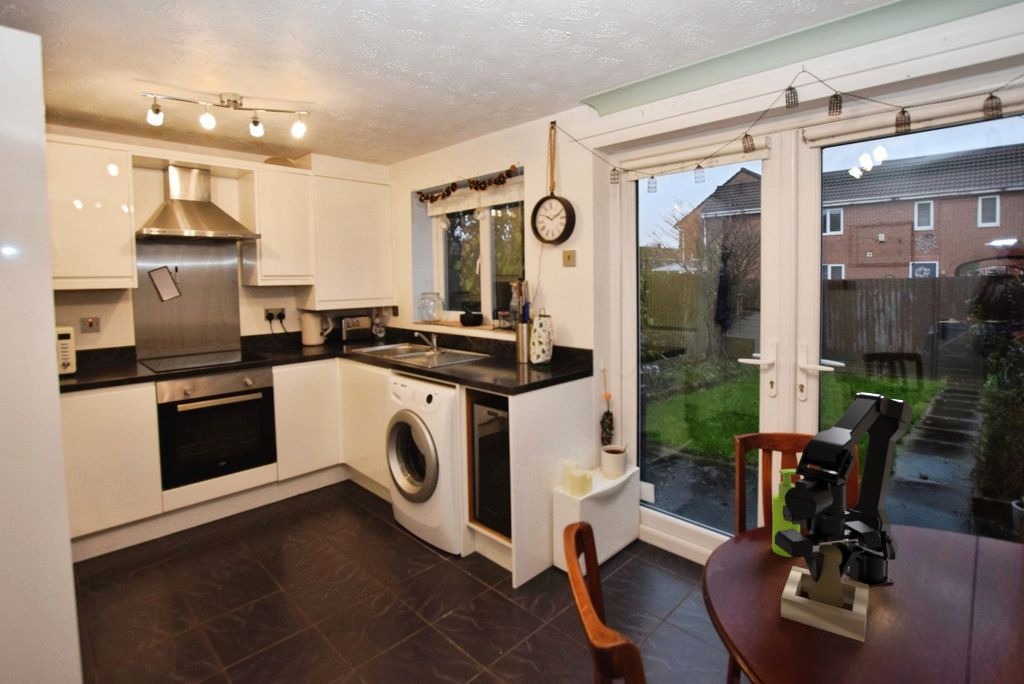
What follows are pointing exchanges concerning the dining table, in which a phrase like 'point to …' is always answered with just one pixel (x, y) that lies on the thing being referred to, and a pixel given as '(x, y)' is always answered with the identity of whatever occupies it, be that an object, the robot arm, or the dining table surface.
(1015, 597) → the dining table surface
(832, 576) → the olive round-headed peg
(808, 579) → the socket block
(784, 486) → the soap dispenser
